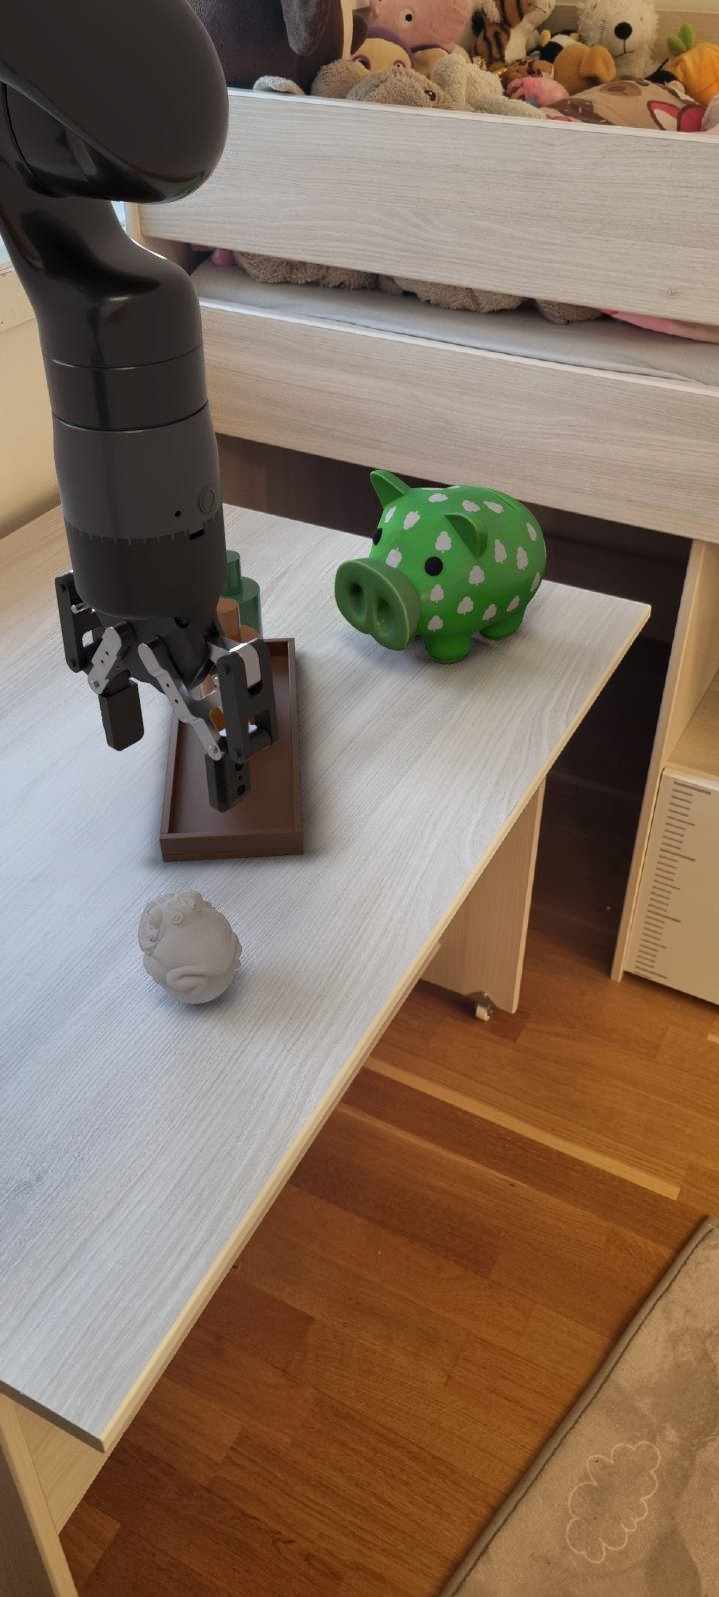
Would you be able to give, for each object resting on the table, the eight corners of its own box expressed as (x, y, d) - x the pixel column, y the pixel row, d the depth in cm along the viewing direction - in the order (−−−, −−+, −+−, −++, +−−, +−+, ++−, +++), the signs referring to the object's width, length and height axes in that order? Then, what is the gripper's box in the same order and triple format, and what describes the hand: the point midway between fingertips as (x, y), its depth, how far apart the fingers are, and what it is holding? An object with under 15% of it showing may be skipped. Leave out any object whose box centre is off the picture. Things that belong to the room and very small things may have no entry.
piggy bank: (321, 637, 111) (315, 483, 101) (465, 577, 119) (472, 431, 110) (422, 703, 102) (426, 541, 93) (570, 633, 111) (587, 479, 101)
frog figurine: (199, 937, 80) (189, 858, 76) (268, 992, 76) (261, 912, 72) (125, 984, 77) (110, 905, 73) (192, 1045, 73) (180, 965, 69)
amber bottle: (235, 760, 95) (222, 628, 87) (192, 736, 97) (176, 606, 90) (279, 732, 98) (270, 602, 90) (236, 710, 100) (225, 582, 93)
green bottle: (237, 704, 101) (225, 576, 94) (196, 683, 104) (182, 557, 96) (278, 680, 104) (270, 554, 97) (238, 660, 107) (227, 536, 99)
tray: (303, 854, 87) (302, 832, 85) (162, 861, 86) (159, 839, 85) (295, 657, 108) (294, 637, 107) (182, 662, 108) (179, 642, 106)
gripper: (-13, 482, 58) (43, 754, 68) (184, 570, 51) (215, 861, 61) (108, 438, 63) (144, 699, 72) (306, 513, 55) (316, 793, 65)
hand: (176, 772), depth 66 cm, fingers open, 8 cm apart
